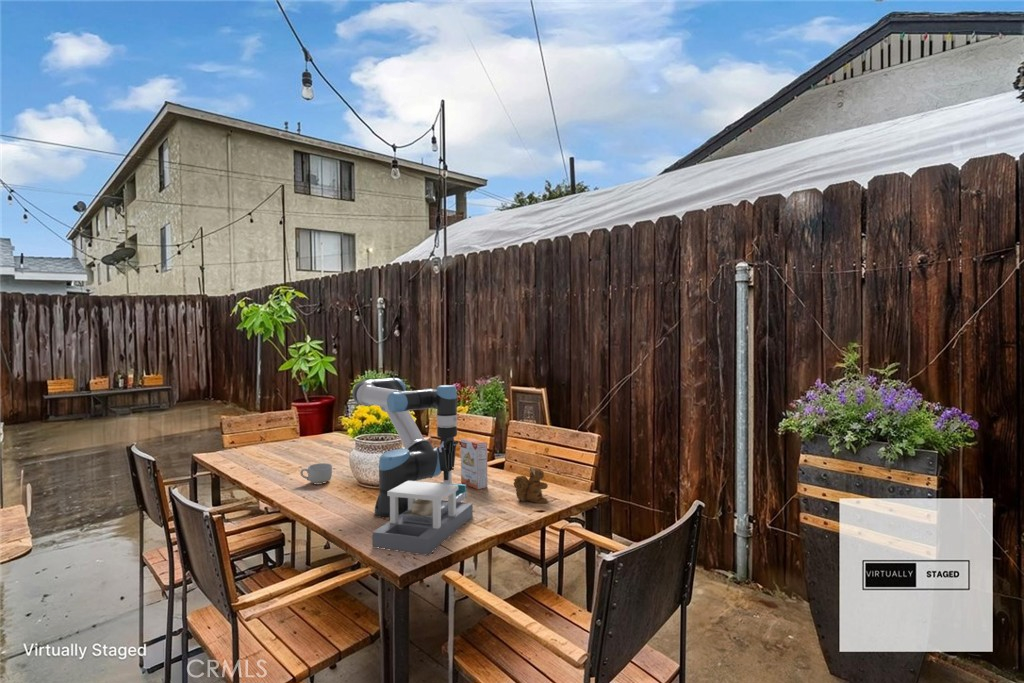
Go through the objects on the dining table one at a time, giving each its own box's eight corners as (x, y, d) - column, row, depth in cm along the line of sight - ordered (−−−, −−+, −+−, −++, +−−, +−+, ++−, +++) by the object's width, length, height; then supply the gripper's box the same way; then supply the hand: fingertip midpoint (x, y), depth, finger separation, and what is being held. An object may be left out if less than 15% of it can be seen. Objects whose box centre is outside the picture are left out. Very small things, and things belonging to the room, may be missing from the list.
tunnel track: (372, 547, 163) (372, 499, 162) (425, 511, 197) (424, 471, 197) (428, 555, 156) (428, 505, 156) (472, 516, 191) (472, 475, 191)
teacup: (332, 478, 244) (332, 462, 244) (332, 484, 234) (332, 467, 234) (300, 481, 239) (300, 464, 239) (299, 487, 229) (299, 470, 229)
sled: (402, 521, 171) (402, 506, 171) (441, 495, 200) (441, 482, 200) (430, 524, 168) (430, 509, 168) (466, 497, 197) (466, 484, 197)
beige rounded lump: (411, 520, 173) (411, 503, 173) (420, 514, 178) (420, 497, 178) (427, 522, 171) (427, 504, 171) (435, 516, 177) (435, 499, 177)
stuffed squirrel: (549, 503, 206) (548, 471, 206) (514, 504, 205) (514, 471, 205) (545, 495, 216) (545, 465, 216) (513, 496, 215) (512, 465, 215)
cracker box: (460, 483, 235) (460, 438, 235) (471, 481, 239) (470, 436, 239) (476, 490, 224) (476, 443, 224) (487, 487, 228) (487, 441, 228)
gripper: (448, 429, 185) (449, 493, 185) (462, 423, 198) (463, 484, 198) (430, 428, 188) (430, 491, 187) (445, 422, 200) (446, 482, 200)
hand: (447, 487), depth 193 cm, fingers closed
